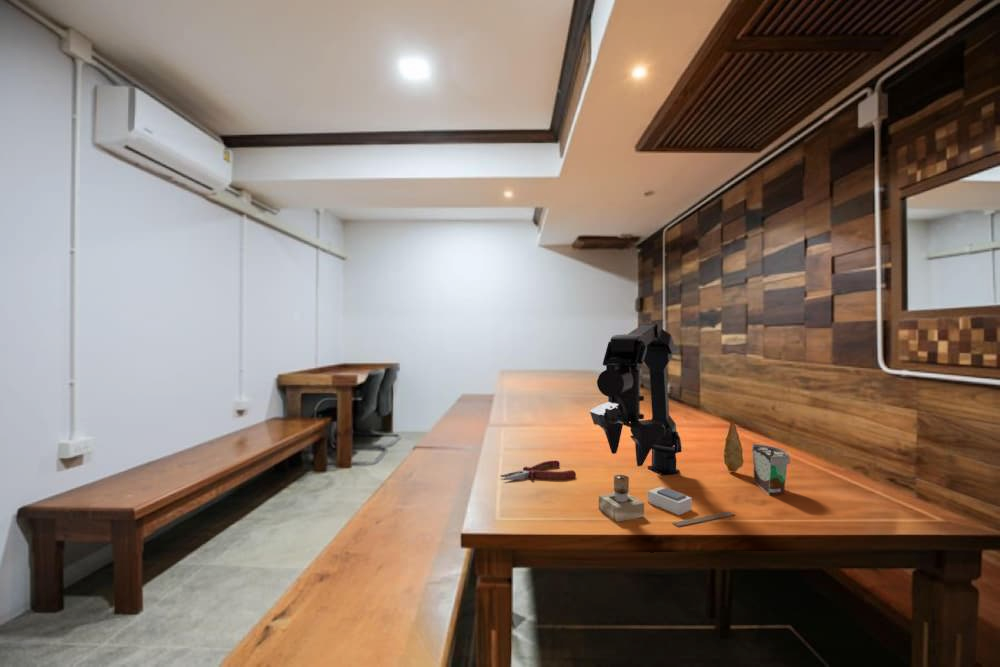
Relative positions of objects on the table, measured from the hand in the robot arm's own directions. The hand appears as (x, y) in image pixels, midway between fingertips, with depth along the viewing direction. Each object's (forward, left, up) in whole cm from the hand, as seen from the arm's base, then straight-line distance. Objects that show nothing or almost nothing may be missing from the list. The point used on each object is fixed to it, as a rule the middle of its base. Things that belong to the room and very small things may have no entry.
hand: (626, 459), depth 94 cm
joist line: (+10, +13, -12) cm, 20 cm away
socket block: (+1, -2, -12) cm, 12 cm away
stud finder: (+1, +11, -12) cm, 16 cm away
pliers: (-29, -9, -12) cm, 32 cm away
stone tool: (-10, +45, -12) cm, 48 cm away
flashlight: (+1, -2, -12) cm, 12 cm away
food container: (+3, +44, -12) cm, 46 cm away
